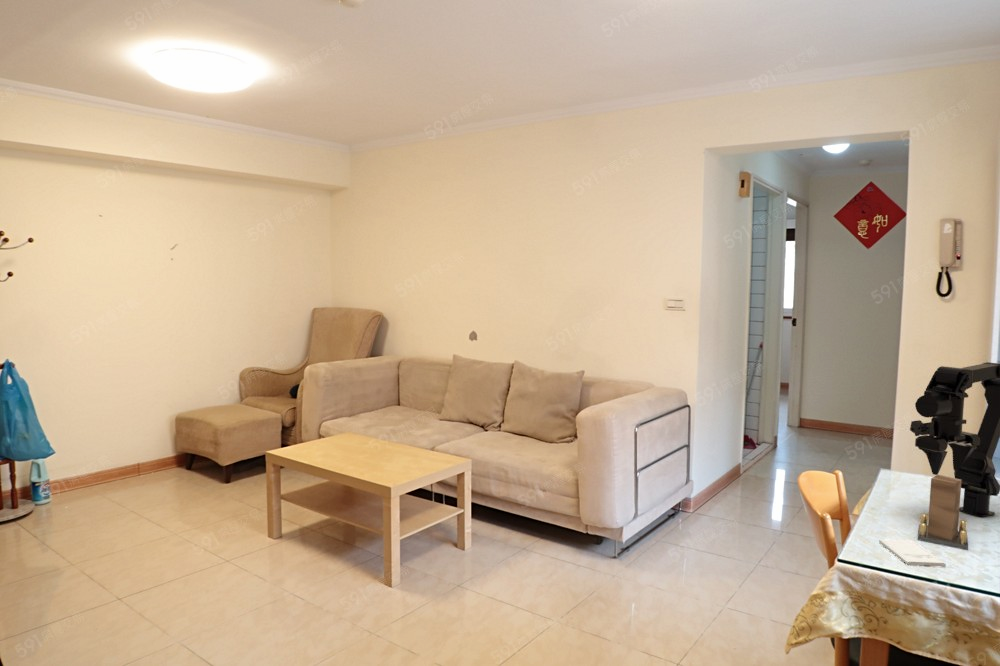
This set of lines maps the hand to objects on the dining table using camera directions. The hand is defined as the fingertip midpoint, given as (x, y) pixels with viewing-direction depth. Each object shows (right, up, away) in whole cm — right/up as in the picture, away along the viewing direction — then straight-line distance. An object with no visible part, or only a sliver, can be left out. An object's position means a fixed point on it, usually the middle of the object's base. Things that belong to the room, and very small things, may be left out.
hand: (945, 472), depth 170 cm
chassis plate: (-9, -14, -12) cm, 20 cm away
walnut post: (-9, -13, -12) cm, 19 cm away
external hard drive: (-23, -15, -21) cm, 35 cm away
